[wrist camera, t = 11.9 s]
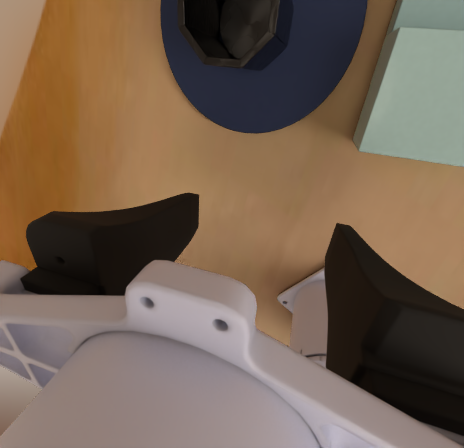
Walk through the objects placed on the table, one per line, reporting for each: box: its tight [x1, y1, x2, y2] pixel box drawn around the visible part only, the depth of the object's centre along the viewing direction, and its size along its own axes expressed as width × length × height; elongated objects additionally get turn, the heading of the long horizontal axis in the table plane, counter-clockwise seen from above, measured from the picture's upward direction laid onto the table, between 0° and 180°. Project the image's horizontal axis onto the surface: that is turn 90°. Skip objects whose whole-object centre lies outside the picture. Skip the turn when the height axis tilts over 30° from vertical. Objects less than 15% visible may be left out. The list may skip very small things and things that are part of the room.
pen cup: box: [177, 0, 294, 71], centre depth 15 cm, size 5×5×6 cm
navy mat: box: [161, 0, 367, 133], centre depth 18 cm, size 14×14×1 cm
